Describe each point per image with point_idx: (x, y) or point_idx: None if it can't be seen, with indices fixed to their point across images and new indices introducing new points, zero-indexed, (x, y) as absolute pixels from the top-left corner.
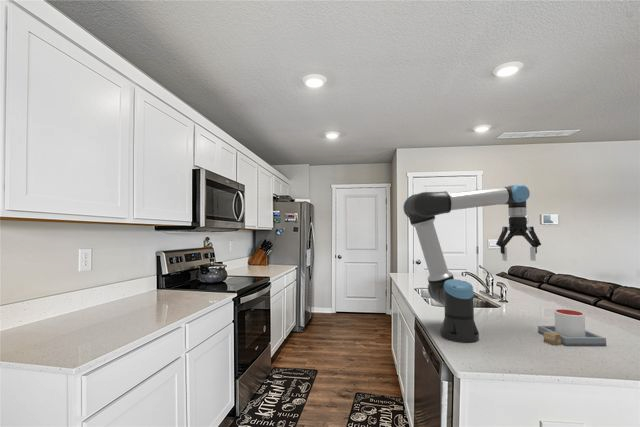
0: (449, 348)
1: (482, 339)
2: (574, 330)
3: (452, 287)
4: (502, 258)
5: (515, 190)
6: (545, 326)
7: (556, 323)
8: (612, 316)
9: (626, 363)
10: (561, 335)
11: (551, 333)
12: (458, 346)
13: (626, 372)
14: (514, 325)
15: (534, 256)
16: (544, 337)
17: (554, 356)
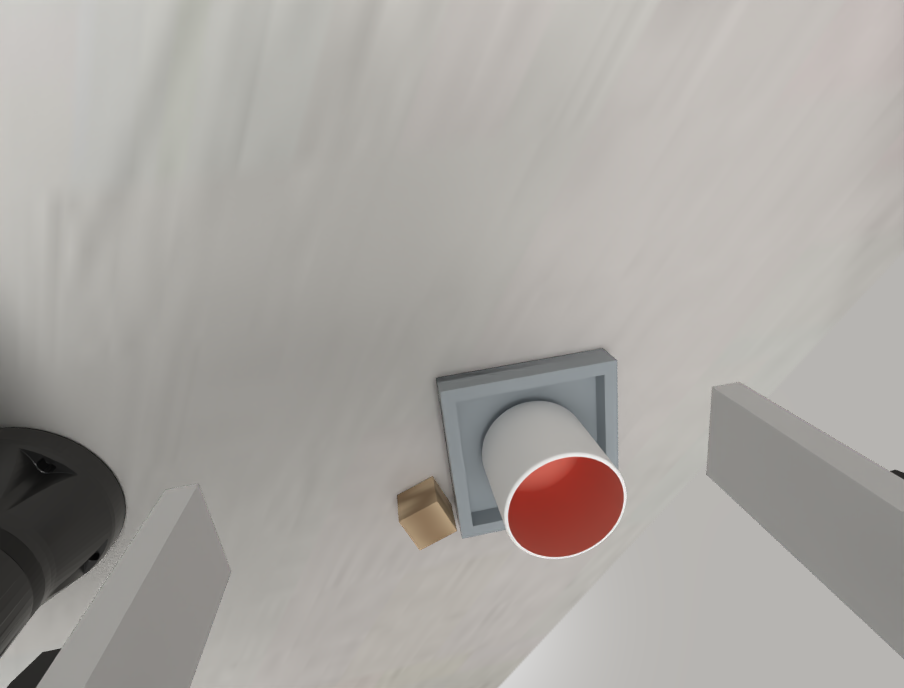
0: None
1: (141, 516)
2: (528, 511)
3: None
4: (151, 517)
5: None
6: (469, 398)
7: (490, 477)
8: None
9: (549, 613)
10: (468, 510)
11: (426, 526)
12: None
13: (502, 666)
14: (366, 276)
15: (767, 523)
16: (399, 510)
17: (365, 613)
